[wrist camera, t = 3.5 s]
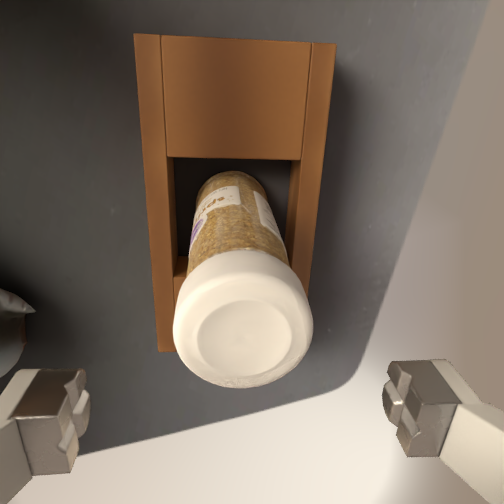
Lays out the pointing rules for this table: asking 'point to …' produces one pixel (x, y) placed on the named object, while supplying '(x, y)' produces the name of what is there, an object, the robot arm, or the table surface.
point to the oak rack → (229, 134)
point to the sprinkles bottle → (239, 290)
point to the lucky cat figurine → (12, 329)
